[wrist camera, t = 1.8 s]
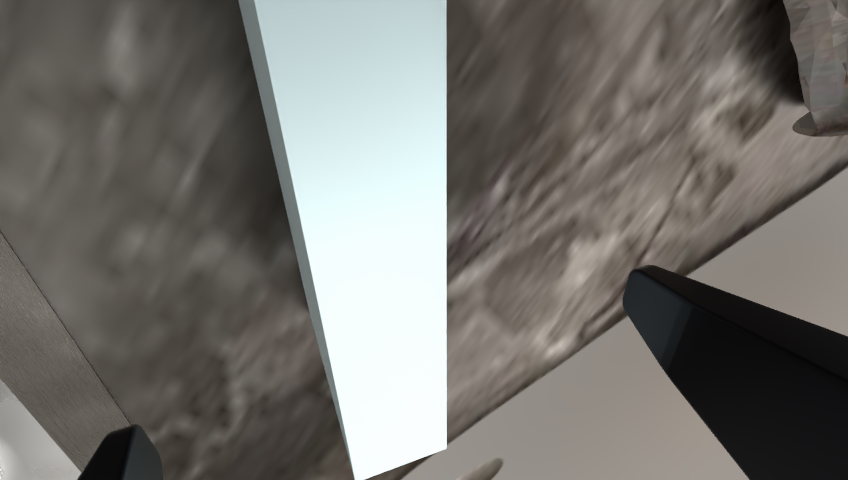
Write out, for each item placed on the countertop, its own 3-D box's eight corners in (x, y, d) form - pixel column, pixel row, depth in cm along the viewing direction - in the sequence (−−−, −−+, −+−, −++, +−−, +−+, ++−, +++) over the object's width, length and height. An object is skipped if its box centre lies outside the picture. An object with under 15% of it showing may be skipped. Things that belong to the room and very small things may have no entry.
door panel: (376, 293, 22) (446, 448, 16) (308, 311, 21) (355, 482, 15) (323, -177, 12) (446, -239, 6) (197, -177, 12) (202, -248, 6)
